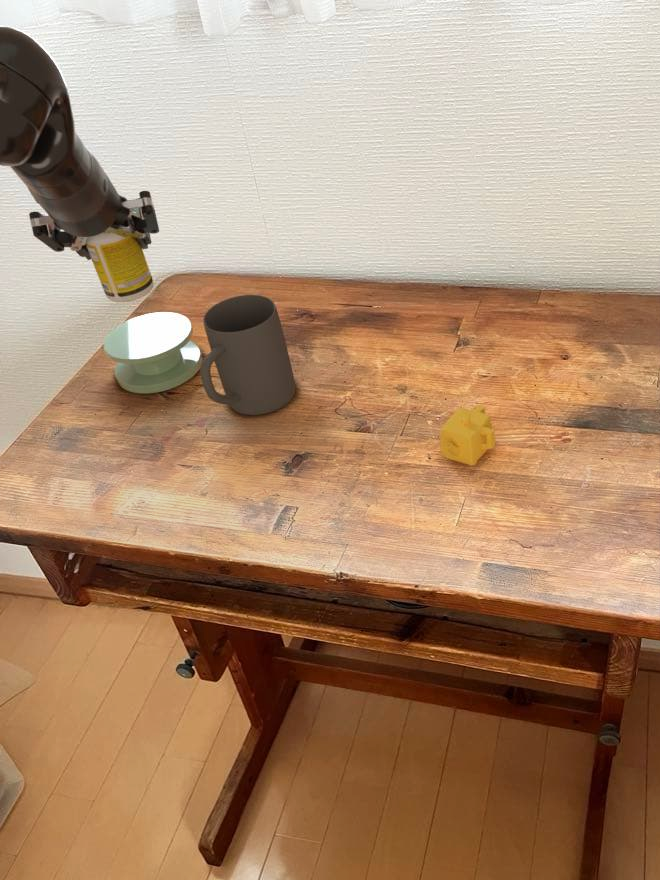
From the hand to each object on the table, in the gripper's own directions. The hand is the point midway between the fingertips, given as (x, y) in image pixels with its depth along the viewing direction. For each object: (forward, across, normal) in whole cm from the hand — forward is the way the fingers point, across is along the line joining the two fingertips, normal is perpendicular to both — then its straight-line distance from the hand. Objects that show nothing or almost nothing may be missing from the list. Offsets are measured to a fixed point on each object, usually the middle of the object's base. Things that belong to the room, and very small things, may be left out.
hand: (116, 246), depth 104 cm
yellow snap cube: (-10, -36, +36) cm, 52 cm away
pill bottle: (+3, 0, +5) cm, 6 cm away
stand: (+13, 0, +12) cm, 18 cm away
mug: (+3, -12, +22) cm, 26 cm away
